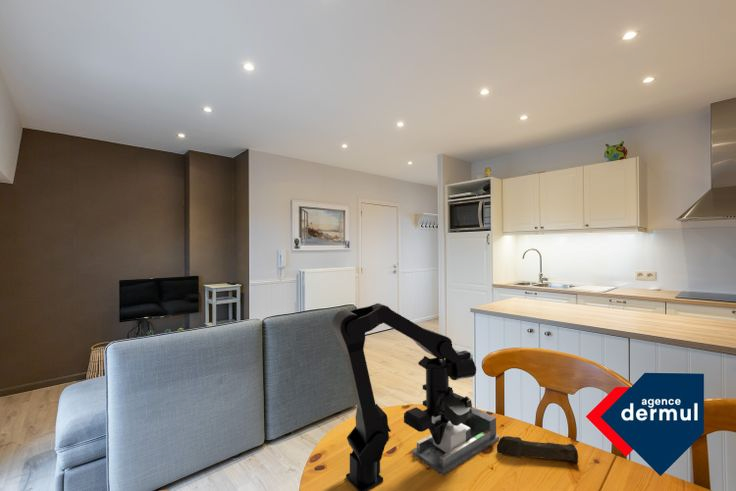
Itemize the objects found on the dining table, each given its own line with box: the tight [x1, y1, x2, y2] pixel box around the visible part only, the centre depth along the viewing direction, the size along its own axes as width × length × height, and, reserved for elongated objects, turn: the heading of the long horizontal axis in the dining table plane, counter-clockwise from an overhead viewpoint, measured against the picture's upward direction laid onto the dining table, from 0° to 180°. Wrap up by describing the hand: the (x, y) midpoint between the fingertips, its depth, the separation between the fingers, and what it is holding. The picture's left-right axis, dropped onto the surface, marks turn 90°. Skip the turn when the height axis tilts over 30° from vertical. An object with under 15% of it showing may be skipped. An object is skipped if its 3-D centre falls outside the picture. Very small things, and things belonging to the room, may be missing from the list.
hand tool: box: [496, 435, 579, 465], centre depth 84 cm, size 19×4×5 cm, turn 78°
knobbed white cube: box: [433, 422, 466, 453], centre depth 86 cm, size 6×6×5 cm
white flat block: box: [459, 423, 471, 441], centre depth 88 cm, size 2×6×4 cm, turn 36°
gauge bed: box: [412, 406, 500, 476], centre depth 88 cm, size 24×10×6 cm, turn 127°
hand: (437, 443), depth 83 cm, fingers closed
